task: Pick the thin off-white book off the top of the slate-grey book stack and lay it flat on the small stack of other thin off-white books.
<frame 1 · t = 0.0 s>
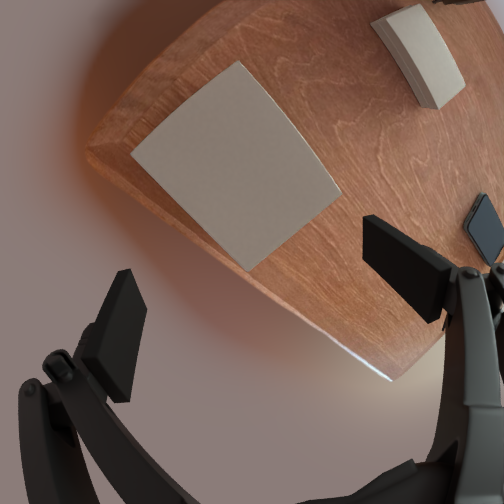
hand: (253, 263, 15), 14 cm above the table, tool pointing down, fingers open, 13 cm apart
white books: (414, 54, 23), on the table
white book: (240, 168, 21), point 6 cm above the table, touching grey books
smartphone: (483, 230, 37), on the table
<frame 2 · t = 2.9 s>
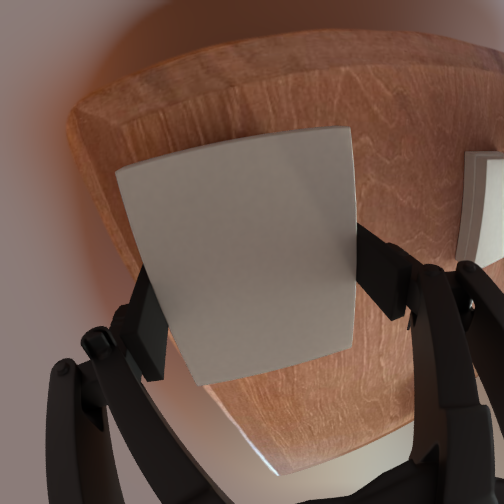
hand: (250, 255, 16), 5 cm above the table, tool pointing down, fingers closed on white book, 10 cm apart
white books: (480, 204, 23), on the table
white book: (255, 267, 15), point 6 cm above the table, touching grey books, gripper
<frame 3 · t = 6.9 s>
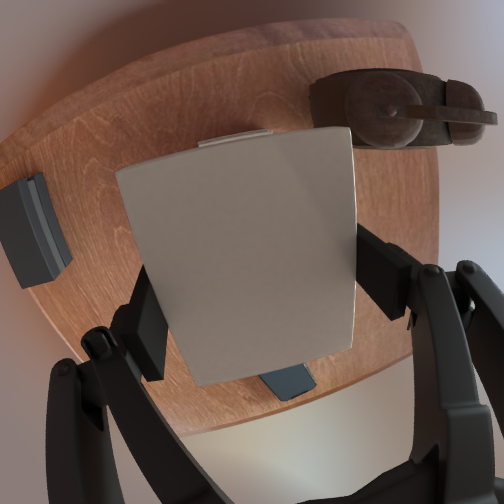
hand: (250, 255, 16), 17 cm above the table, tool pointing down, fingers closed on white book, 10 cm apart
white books: (241, 185, 32), on the table
alarm clock: (343, 107, 29), on the table
white book: (255, 268, 15), point 19 cm above the table, touching gripper
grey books: (40, 223, 29), on the table
smartphone: (282, 369, 46), on the table
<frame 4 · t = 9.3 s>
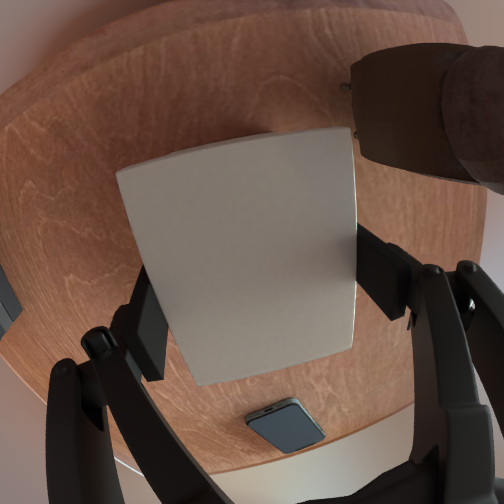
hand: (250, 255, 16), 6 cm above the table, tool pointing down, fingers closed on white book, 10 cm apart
alarm clock: (386, 104, 19), on the table
white book: (255, 268, 15), point 7 cm above the table, touching gripper
smartphone: (287, 424, 36), on the table
when the fingers open (1 cm above the table, at t = 11.0 s): white book stays where it is, resting on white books.
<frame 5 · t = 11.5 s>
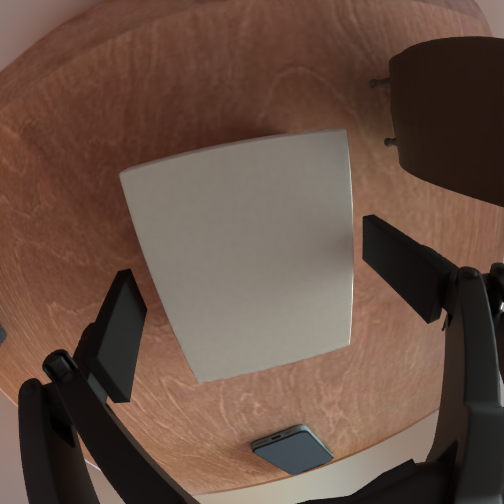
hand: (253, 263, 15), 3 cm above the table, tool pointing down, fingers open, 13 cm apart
alarm clock: (417, 107, 16), on the table
white book: (255, 266, 15), point 3 cm above the table, touching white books
smartphone: (295, 448, 32), on the table
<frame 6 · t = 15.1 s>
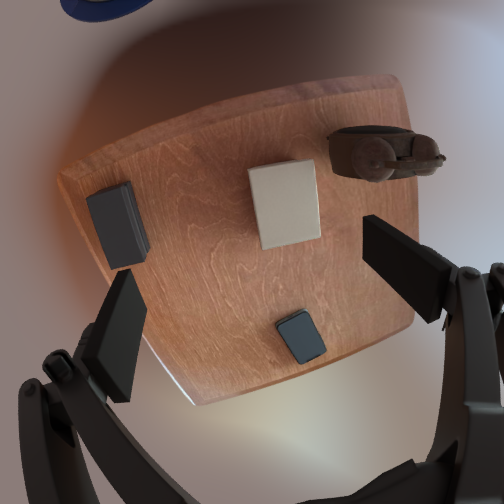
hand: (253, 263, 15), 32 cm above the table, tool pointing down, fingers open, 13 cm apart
alarm clock: (349, 143, 45), on the table
white book: (285, 203, 44), point 3 cm above the table, touching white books
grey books: (124, 219, 44), on the table
smartphone: (301, 335, 61), on the table
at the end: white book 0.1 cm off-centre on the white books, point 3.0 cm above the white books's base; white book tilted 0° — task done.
